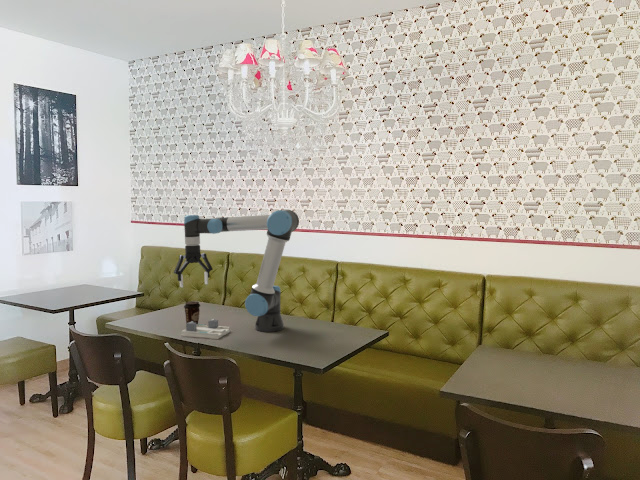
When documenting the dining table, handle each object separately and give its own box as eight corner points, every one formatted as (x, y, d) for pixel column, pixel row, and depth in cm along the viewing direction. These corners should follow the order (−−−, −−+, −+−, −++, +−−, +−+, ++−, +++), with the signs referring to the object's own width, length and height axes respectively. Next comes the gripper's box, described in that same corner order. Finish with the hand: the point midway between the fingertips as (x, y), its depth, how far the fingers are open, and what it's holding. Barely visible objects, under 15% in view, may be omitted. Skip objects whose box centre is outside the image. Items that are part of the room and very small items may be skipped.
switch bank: (230, 331, 257) (230, 326, 256) (217, 339, 243) (217, 333, 243) (195, 328, 262) (195, 323, 262) (181, 335, 249) (181, 330, 248)
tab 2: (218, 328, 257) (218, 318, 256) (215, 330, 254) (215, 320, 253) (211, 328, 258) (211, 318, 257) (208, 329, 255) (208, 319, 254)
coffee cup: (203, 324, 271) (202, 301, 270) (197, 328, 262) (197, 304, 261) (187, 324, 272) (187, 300, 270) (181, 328, 263) (181, 303, 262)
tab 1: (196, 331, 251) (196, 321, 251) (193, 332, 248) (193, 322, 248) (189, 330, 252) (189, 320, 252) (186, 332, 249) (186, 322, 249)
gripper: (211, 242, 267) (213, 282, 268) (166, 246, 252) (168, 287, 254) (218, 243, 261) (219, 283, 262) (171, 247, 246) (173, 289, 248)
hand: (194, 285), depth 258 cm, fingers open, 13 cm apart
